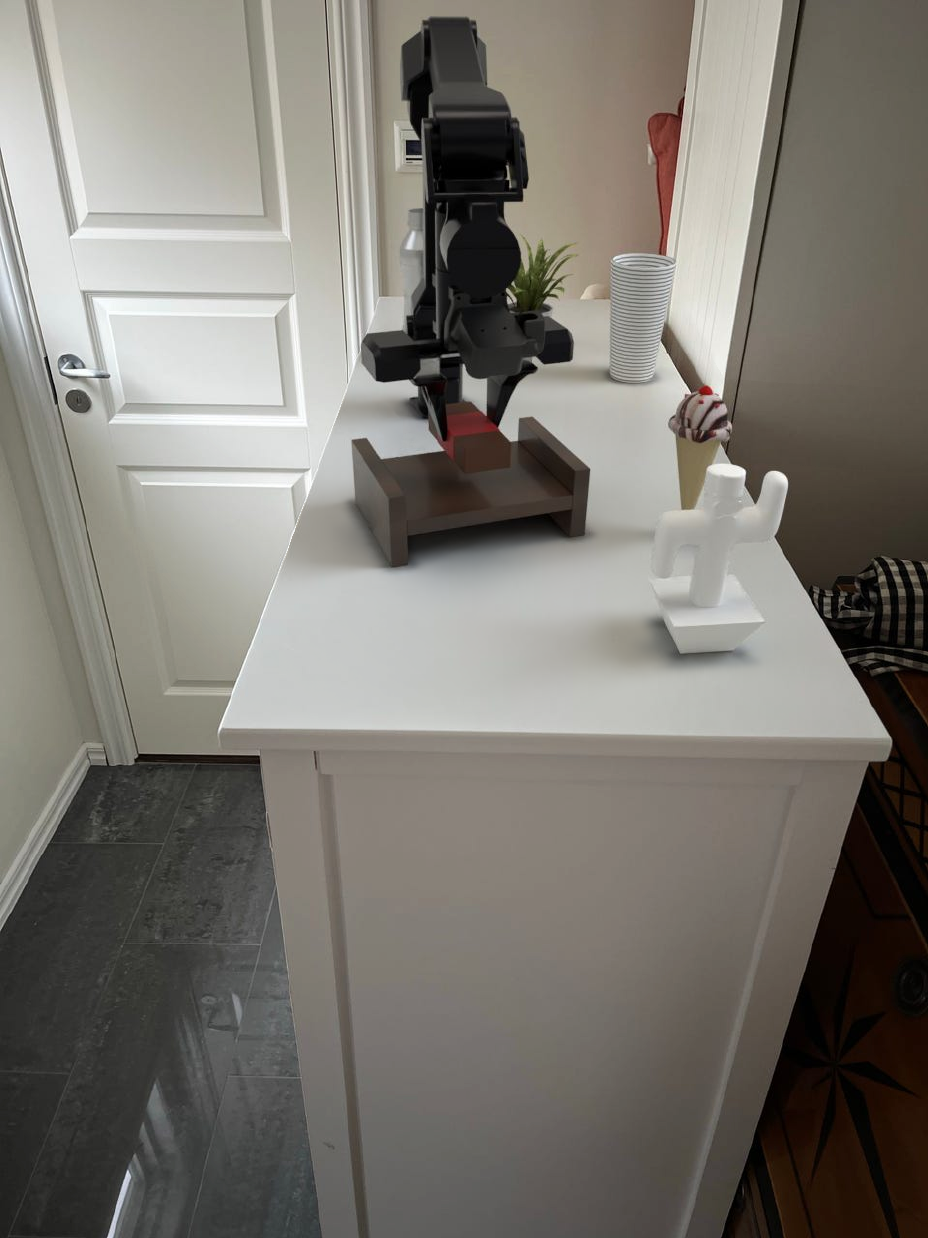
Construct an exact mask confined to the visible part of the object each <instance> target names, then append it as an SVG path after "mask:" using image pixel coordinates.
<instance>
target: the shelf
mask: <svg viewBox="0 0 928 1238" xmlns="http://www.w3.org/2000/svg"><path fill="white" fill-rule="evenodd" d="M517 430H518V431H517V440H513V441H512V440H511V441H510V442H511V463H510V468H503V469H496V470H490V471H483V472H476V473H469V474H464V473H463V471H462V470H461V469H460V468H459V466H458V465H457V464H456V463H455V462H453V460H452V459H451V458H450V457H449V455H448V454H447V453H446V452H445V451H444V450H439V451H432V452H425V453H424V452H423V453H418V454H417V453H416V454H410V455H409V454H408V455H402V456H394V457H387V458H381V457H380V456H379V454H378V453H377V451H376V450H375V448H374V446H373V445H372V443H371V442H370V441H369V439H368V438H367V437H362V438H353V439H350V440H351V457H352V471H353V486H354V487H353V488H354V489H353V490H354V502H355V504H356V506H357V508H358V510H359V511H360V513H361V516H362V517H363V519H364V520H365V523H366V524H367V526H368V528H369V529H370V531H371V533H372V535H373V537H374V539H375V540H376V542H377V544H378V546H379V547H380V549H381V551H382V553H383V554H384V556H385V558H386V560H387V561H388V563H389V565H390V567H391V568H395V567H400V566H407V565H409V553H408V551H409V550H408V548H409V547H408V536H412V535H413V536H414V535H419V534H425V533H432V532H438V531H444V530H450V529H451V530H452V529H457V528H464V527H470V526H476V525H483V524H488V523H494V522H500V521H506V520H507V521H509V520H514V519H519V518H526V517H532V516H537V515H544V514H548V515H549V516H550V517H551V518H552V519H553V520H554V521H555V523H557V525H558V526H559V527H560V528H561V529H562V530H563V531H564V532H565V533H566V534H567V536H569V538H573V537H578V536H584V535H585V534H586V525H587V513H588V501H589V489H590V478H591V467H589V466H588V465H587V464H586V463H585V462H584V461H583V460H582V459H580V458H579V456H577V455H576V454H575V453H573V452H572V451H571V449H569V448H568V447H567V446H566V445H565V444H564V443H562V442H561V440H559V439H558V438H557V437H556V436H555V435H553V433H551V431H549V430H548V429H547V428H546V427H545V426H544V425H543V424H541V423H540V421H538V420H537V419H536V418H535V417H534V416H525V417H519V418H518V428H517Z"/></svg>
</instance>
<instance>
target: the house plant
mask: <svg viewBox="0 0 928 1238" xmlns="http://www.w3.org/2000/svg"><path fill="white" fill-rule="evenodd" d="M520 236H521V238H522V240H523V242H524V243H525V245H526V249H527V257H528V268H527V270H525V266H524V263H523V259H522V258H521V264H520V269H519V271H518V274H517V276H516V278H515V280H514V281H513V283H512V284H511V285H510V286H509V287H508V288H507V289H508V291H510V293H511V294H512V295H513V297H514V298H515V299H516V300H515V301H514V300H513V298H512V296H511V295H510V294H509V293H508V292H507V298H509V299H510V301H511V303H508V307H509V310H510V313H515V312H527V311H538V310H539V311H540V312H541V313H542V315H543V316H549V317H551V318H552V316H553V312H554V307H553V306H552V305H550V304H549V303H545V301H546V300H547V298H555V299H557V300H560V298H559V296H558V295H557V294H556V293H551V292H552V291H553V290H558V291H560V292H562V294H563V295H565V290H566V289H565V288H564V287H563V286H557V285H559V283H561V285H563V280H565V278H567V277H569V276H573V275H574V274H572V273H571V274H565V275H562V276H561V277H559V278H558V279H557V278H556V279H555V278H553V277H554V276H555V274H556V273H557V272H558V270H559V269H560V268H561V266H562V265H563V264H565V263H566V262H568V260H570V259H571V258H575V257H577V256H578V254H577V253H569V254H566V255H564V256H563V257H562V258H560V259H559V260H558V261H556V260H557V258H558V257H559V256H560V255H561V254H562V253H563V252H564V251H566V250H567V249H568V248H569V247H571V246H574V245H578V244H579V242H572V243H568V244H565V245H563V246H561V247H560V248H559V249H557V250H556V251H555V252H553V254H550V255H549V256H547V257H546V254H547V253H548V251H550V250H551V249H550V248H549V249H546V250H545V246H544V240H543V238H541V239H540V240H539V242H538V244H537V248H536V254H535V258H534V255H533V251H532V248H531V246H530V244H529V242H528V241H527V239H526V237H525V236H523V235H522V234H520ZM547 260H548V261H547ZM555 261H556V262H555ZM554 262H555V264H554ZM553 264H554V265H553ZM551 272H552V273H551ZM550 273H551V274H550ZM549 275H550V276H549ZM548 276H549V278H548ZM552 282H553V283H552ZM550 283H552V284H551V285H550ZM549 285H550V287H549ZM548 287H549V288H548ZM547 288H548V289H547Z"/></svg>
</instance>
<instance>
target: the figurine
mask: <svg viewBox="0 0 928 1238" xmlns="http://www.w3.org/2000/svg"><path fill="white" fill-rule="evenodd" d="M746 475H747V471H746V469H744V468H743V467H742V466H739V465H736V464H731V463H714V464H712V465H711V466H709V467H707V469H706V477H705V483H704V486H703V489H704V491H705V492H704V498H703V502H702V505H701V507H700V508H699V509H698V508H694V510H681V509H677V510H676V509H673V510H667V511H665V512H663V513H662V514H661V515H660V516H659V518H658V520H657V523H656V527H655V530H654V538H653V546H652V553H651V559H650V560H651V561H650V569H651V571H652V573H653V575H654V576H655V577H648V581H649V583H650V586H651V588H652V592H653V593H654V594H653V595H654V597H655V600H656V603H657V605H658V608H659V611H660V614H661V616H662V620H663V622H664V625H665V626H666V628H667V631H668V633H669V635H670V636H671V638H672V640H673V642H674V644H675V646H676V648H677V650H678V652H679V654H681V655H682V654H683V655H684V654H698V653H715V652H732V651H734V650H735V649H737V648H738V647H739V646H740V645H741V644H742V643H743V642H744V641H746V640H747V639H748V638H749V637H750V636H751V635H752V634H753V633H755V632H756V631H757V630H758V629H759V628H760V627H761V626H763V625H764V624H765V623H766V620H765V619H764V617H763V615H761V613H760V611H759V610H758V608H757V607H756V606H755V604H754V602H753V601H752V600H751V598H750V596H749V595H748V593H746V591H745V589H744V587H743V586H742V584H741V583H740V582H739V580H738V579H737V577H736V575H735V574H734V573H728V570H729V565H730V559H731V554H732V550H733V548H734V547H735V545H737V544H746V543H748V544H749V543H765V542H768V541H770V540H772V539H773V538H774V537H775V536H776V534H777V533H778V531H779V527H780V525H781V521H782V516H783V512H784V509H785V501H786V497H787V494H788V487H789V481H788V480H789V479H788V478H787V475H785V474H784V473H783V472H781V471H778V470H770V471H768V472H767V473H765V475H764V476H763V481H762V484H761V490H760V494H759V496H758V499H757V501H756V503H755V504H754V505H753V506H744V503H742V501H741V500H742V499H743V494H744V488H745V483H746ZM686 546H687V547H688V546H696V548H695V553H694V559H693V565H692V573H691V575H684V576H682V575H681V576H672V575H673V572H674V567H675V561H676V558H677V554H678V551H679V550H680V548H681V547H686Z"/></svg>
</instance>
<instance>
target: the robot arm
mask: <svg viewBox="0 0 928 1238" xmlns="http://www.w3.org/2000/svg"><path fill="white" fill-rule="evenodd" d="M420 26H421V27H420V31H419V32H417V33H416V34H414V35H413V36H411V37H410V38H409V39H408V40H406V41H405V42H404V43H402V45H401V48H400V60H399V61H400V63H399V81H400V84H399V85H400V99H401V102H406V109H407V115H408V120H409V123H410V126H411V128H412V129H413V131H414V133H415V135H416V136H417V138H418V140H419V143H421V161H422V208H423V270H424V275H423V278H422V279H421V281H420V282H419V284H418V286H417V287H416V289H415V290H414V292H413V294H412V295H411V315H406V324H405V332H404V331H403V330H402V329H400V330H398V329H397V330H390V331H388V330H387V331H379V332H369V333H368V332H367V333H366V334H365V335H364V337H363V339H362V340H361V342H360V357H361V365H363V367H364V368H365V369H366V371H367V373H369V375H370V376H371V377H372V378H373V380H374V381H375V382H377V383H385V384H386V383H393V382H401V381H403V382H404V381H409V382H410V383H411V384H412V385H413V386H414V387H417V396H412V397H410V398H409V403H410V404H411V406H412V407H413V408H414V409H415V410H416V411H417V413H418V414H419V415H420V416H421V417H422V418H424V419H428V409H429V411H430V414H431V416H432V419H433V422H434V424H435V427H436V429H437V432H438V434H439V437H440V439H441V440H442V441H443V442H444V441H447V429H448V425H447V414H446V404H453V403H461V402H466V401H465V399H463V396H464V395H463V394H464V393H463V391H464V389H463V388H464V387H463V386H464V385H463V383H464V380H463V379H464V377H463V376H464V371H463V370H464V367H465V371H466V373H467V375H468V376H469V377H471V378H472V379H476V380H486V409H485V410H486V413H485V415H486V416H487V417H488V418H489V420H490V421H491V422H492V423H494V424H495V425H496V426H497V427H498V428H499V427H500V424H501V422H502V420H503V416H504V415H505V412H506V409H507V407H508V404H509V403H510V400H511V398H512V396H513V393H514V392H515V390H516V388H517V387H518V384H519V383H521V381H523V379H525V378H526V377H527V376H529V375H534V374H536V373H537V372H538V369H539V367H538V366H537V365H536V364H535V363H533V358H534V357H535V358H537V360H538V361H539V362H540V363H542V364H543V365H544V366H545V365H553V364H563V363H570V362H572V360H573V359H574V346H575V341H574V336H573V333H572V332H571V331H570V330H569V329H568V328H567V327H566V326H564V325H562V324H561V323H559V321H557V320H555V319H553V318H552V317H549V316H543V315H542V313H541V312H540V311H539V310H538V311H527V312H515V313H510V310H509V307H508V304H509V303H508V296H507V293H508V292H507V289H508V287H509V286H510V285H511V284H512V285H513V283H514V280H515V278H516V276H517V274H518V271H519V269H520V264H521V259H522V251H521V247H520V243H519V241H518V239H517V237H516V235H515V233H514V231H513V230H512V229H511V227H510V226H509V225H508V224H507V222H506V217H505V203H524V190H527V189H528V185H529V179H530V176H529V175H530V174H529V167H528V158H527V148H526V141H525V139H526V138H525V133H524V132H523V131H522V130H521V128H520V120H519V119H518V117H517V116H515V117H512V111H511V110H512V109H511V106H510V104H509V102H508V99H507V98H506V96H505V95H504V94H503V93H502V91H498V90H496V89H493V88H491V87H488V64H487V60H488V59H487V45H486V43H485V42H484V41H483V40H482V39H481V38H480V37H479V36H478V25H477V20H476V19H470V17H469V16H439V15H437V16H434V15H433V16H429V17H428V18H427V19H421V25H420ZM508 174H509V179H508Z"/></svg>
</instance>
